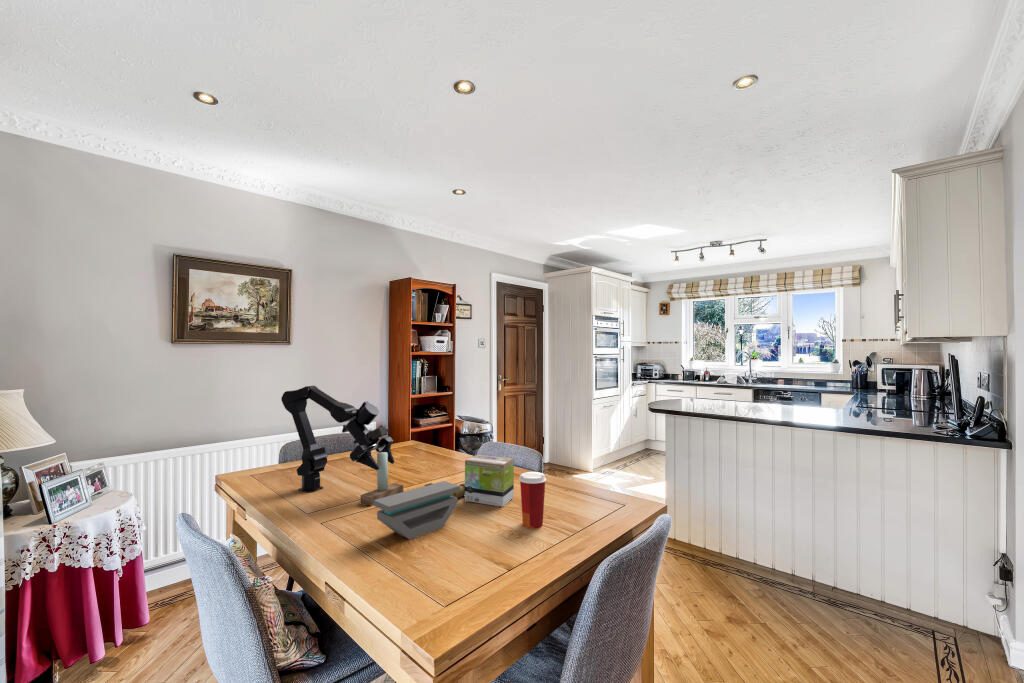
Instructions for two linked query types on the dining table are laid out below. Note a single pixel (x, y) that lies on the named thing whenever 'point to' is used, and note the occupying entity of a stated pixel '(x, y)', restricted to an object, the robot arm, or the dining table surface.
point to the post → (382, 471)
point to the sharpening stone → (418, 509)
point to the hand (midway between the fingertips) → (386, 466)
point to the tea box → (489, 480)
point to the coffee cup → (532, 498)
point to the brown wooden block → (380, 494)
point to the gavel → (456, 494)
